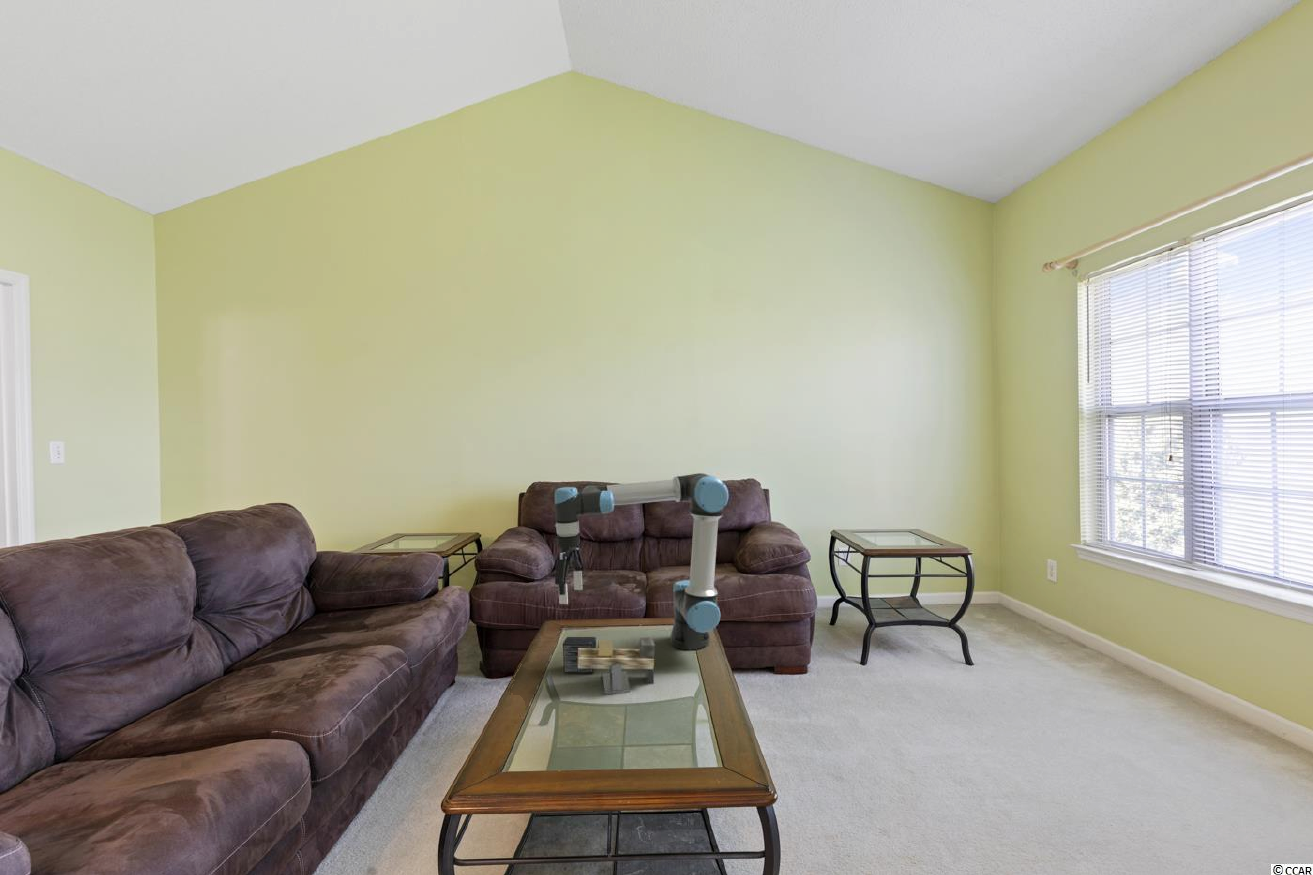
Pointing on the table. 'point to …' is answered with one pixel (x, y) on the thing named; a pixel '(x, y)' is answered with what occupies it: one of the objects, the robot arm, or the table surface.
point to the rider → (604, 649)
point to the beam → (620, 657)
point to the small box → (576, 654)
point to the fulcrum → (621, 680)
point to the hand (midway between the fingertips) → (571, 596)
